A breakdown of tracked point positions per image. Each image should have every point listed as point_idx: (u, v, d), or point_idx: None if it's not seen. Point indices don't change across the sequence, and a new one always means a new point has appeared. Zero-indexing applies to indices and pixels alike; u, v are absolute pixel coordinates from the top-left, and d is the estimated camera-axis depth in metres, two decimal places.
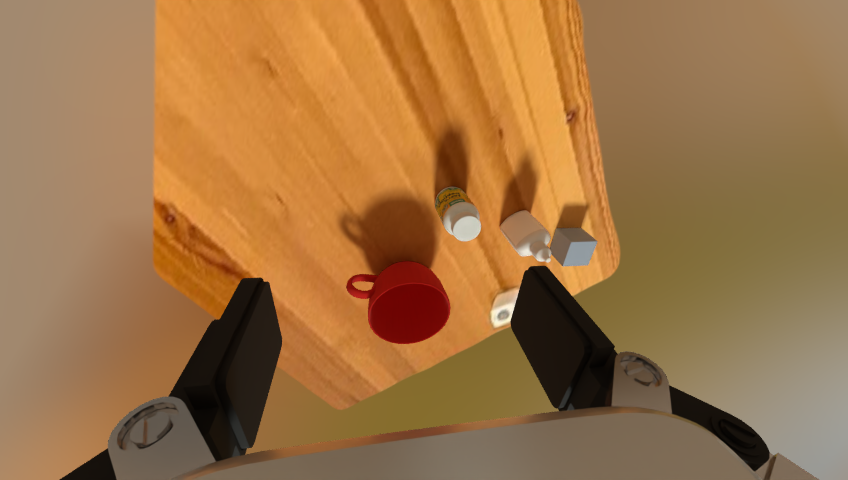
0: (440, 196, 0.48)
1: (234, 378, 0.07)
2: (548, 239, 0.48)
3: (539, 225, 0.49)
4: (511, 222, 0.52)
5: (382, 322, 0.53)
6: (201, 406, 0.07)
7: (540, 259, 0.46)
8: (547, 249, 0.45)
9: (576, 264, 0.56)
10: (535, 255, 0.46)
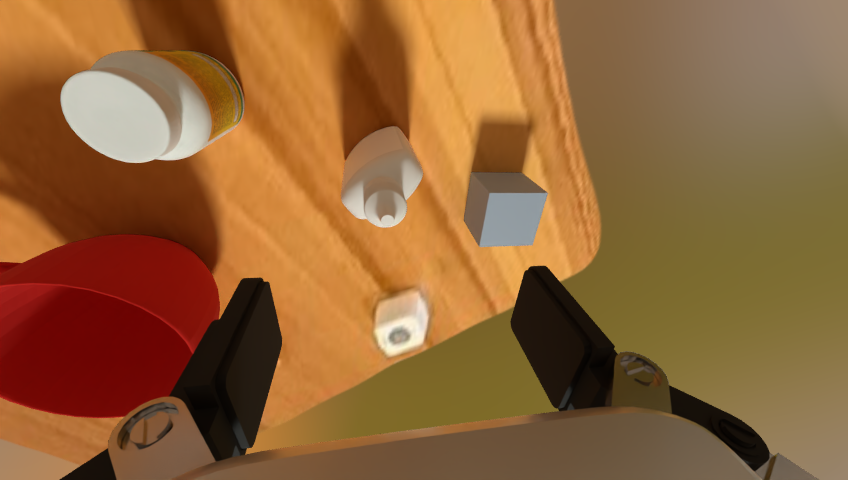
0: None
1: (234, 378, 0.07)
2: (413, 175, 0.19)
3: (398, 144, 0.20)
4: (357, 149, 0.24)
5: (76, 368, 0.24)
6: (201, 406, 0.07)
7: (377, 221, 0.17)
8: (391, 193, 0.17)
9: (508, 243, 0.27)
10: (364, 210, 0.18)
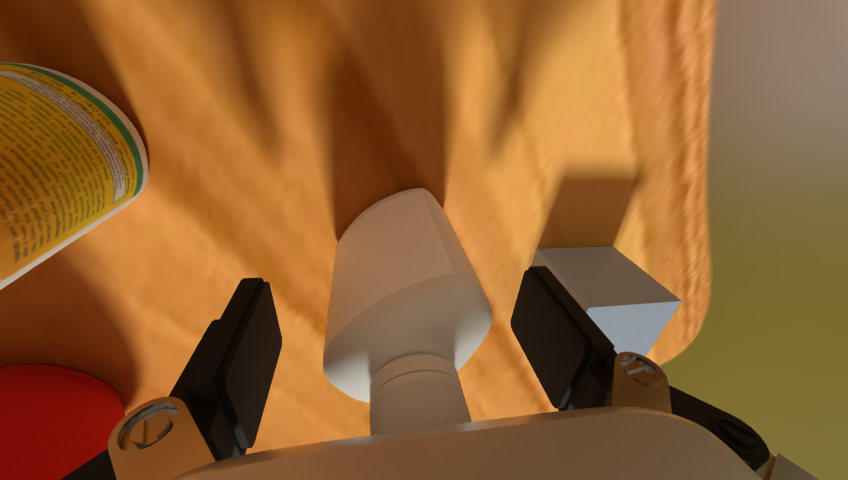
0: None
1: (234, 378, 0.07)
2: (478, 331, 0.09)
3: (440, 253, 0.10)
4: (357, 235, 0.13)
5: None
6: (201, 406, 0.07)
7: None
8: None
9: None
10: None
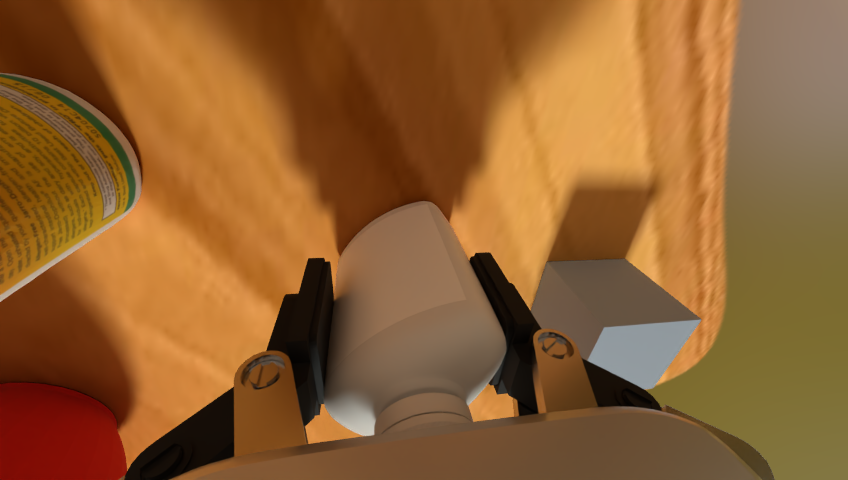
0: None
1: (319, 338, 0.09)
2: (491, 363, 0.08)
3: (450, 276, 0.09)
4: (360, 252, 0.13)
5: None
6: (296, 360, 0.08)
7: None
8: None
9: None
10: None
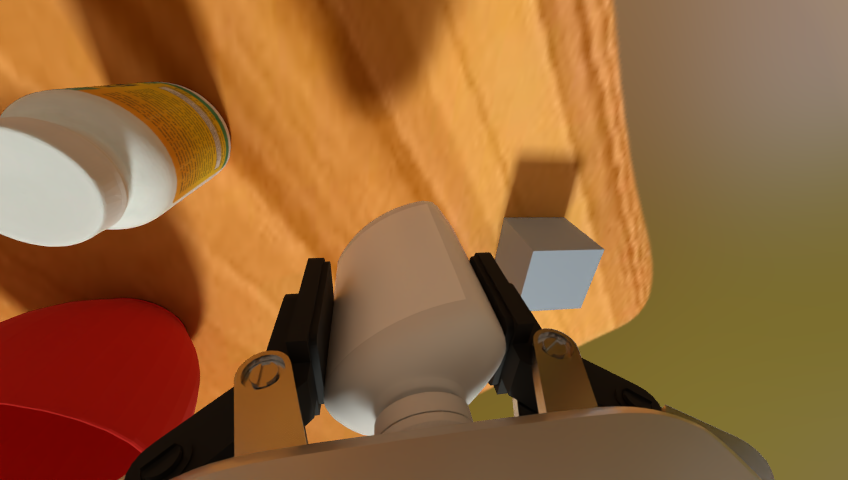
0: None
1: (319, 339, 0.09)
2: (491, 363, 0.08)
3: (450, 276, 0.09)
4: (360, 251, 0.13)
5: (16, 468, 0.19)
6: (297, 360, 0.08)
7: None
8: None
9: (551, 307, 0.22)
10: None
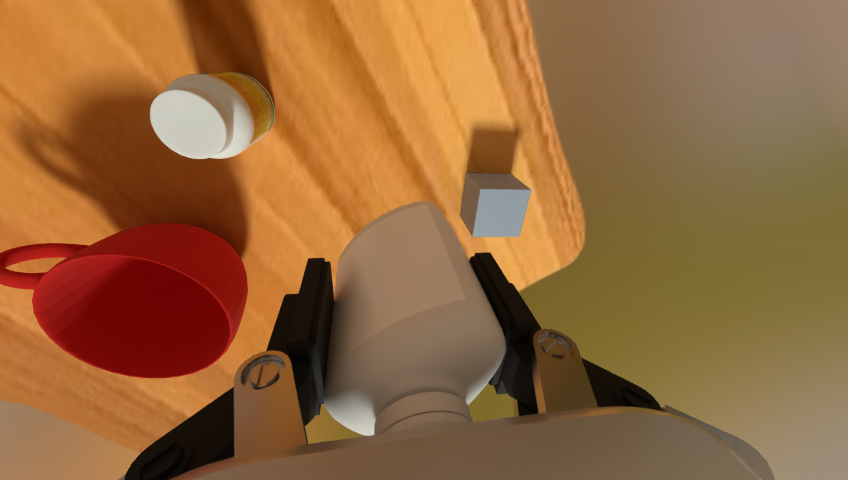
0: None
1: (319, 338, 0.09)
2: (491, 363, 0.08)
3: (450, 276, 0.09)
4: (360, 252, 0.13)
5: (127, 336, 0.28)
6: (297, 360, 0.08)
7: None
8: None
9: (497, 234, 0.31)
10: None
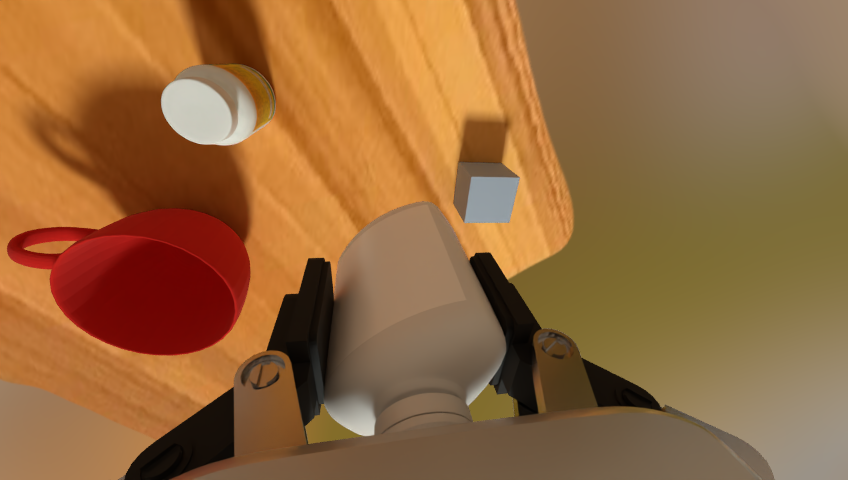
0: None
1: (319, 339, 0.09)
2: (491, 364, 0.08)
3: (450, 277, 0.09)
4: (360, 252, 0.13)
5: (136, 317, 0.30)
6: (296, 360, 0.08)
7: None
8: None
9: (488, 220, 0.33)
10: None
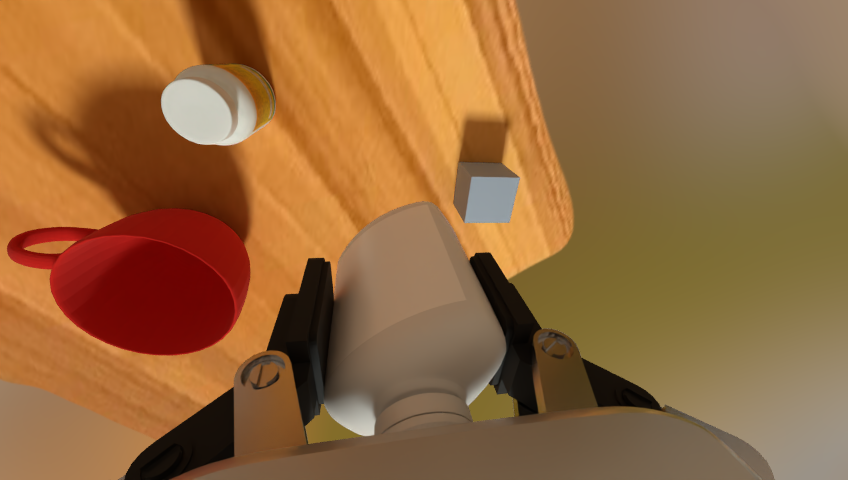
0: None
1: (319, 339, 0.09)
2: (491, 364, 0.08)
3: (450, 276, 0.09)
4: (360, 252, 0.13)
5: (136, 316, 0.30)
6: (296, 360, 0.08)
7: None
8: None
9: (488, 220, 0.33)
10: None
